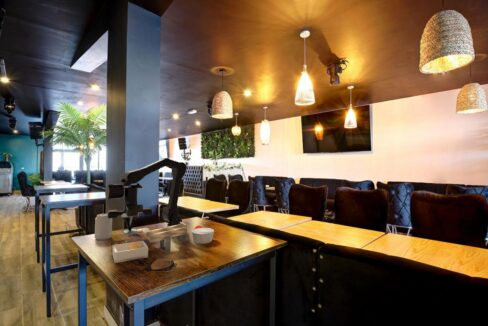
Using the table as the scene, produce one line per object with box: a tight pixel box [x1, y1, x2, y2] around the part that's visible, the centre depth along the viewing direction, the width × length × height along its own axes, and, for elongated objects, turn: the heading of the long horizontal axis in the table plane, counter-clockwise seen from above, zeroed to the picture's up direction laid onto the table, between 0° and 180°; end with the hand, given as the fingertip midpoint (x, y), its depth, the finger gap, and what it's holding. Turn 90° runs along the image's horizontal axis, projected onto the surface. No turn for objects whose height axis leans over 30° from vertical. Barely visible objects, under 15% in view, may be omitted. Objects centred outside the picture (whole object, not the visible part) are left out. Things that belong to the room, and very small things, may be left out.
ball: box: [129, 244, 139, 250], centre depth 100 cm, size 4×4×4 cm
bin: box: [112, 240, 149, 264], centre depth 99 cm, size 12×10×4 cm
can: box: [94, 213, 113, 241], centre depth 122 cm, size 8×8×12 cm
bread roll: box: [143, 258, 178, 273], centre depth 89 cm, size 11×9×4 cm
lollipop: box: [192, 211, 210, 230], centre depth 136 cm, size 6×10×12 cm, turn 110°
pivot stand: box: [158, 236, 172, 255], centre depth 107 cm, size 2×11×7 cm, turn 33°
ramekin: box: [191, 227, 215, 245], centre depth 121 cm, size 11×11×5 cm
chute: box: [123, 221, 191, 244], centre depth 111 cm, size 24×24×6 cm
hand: (129, 230), depth 114 cm, fingers closed, pressing on chute
